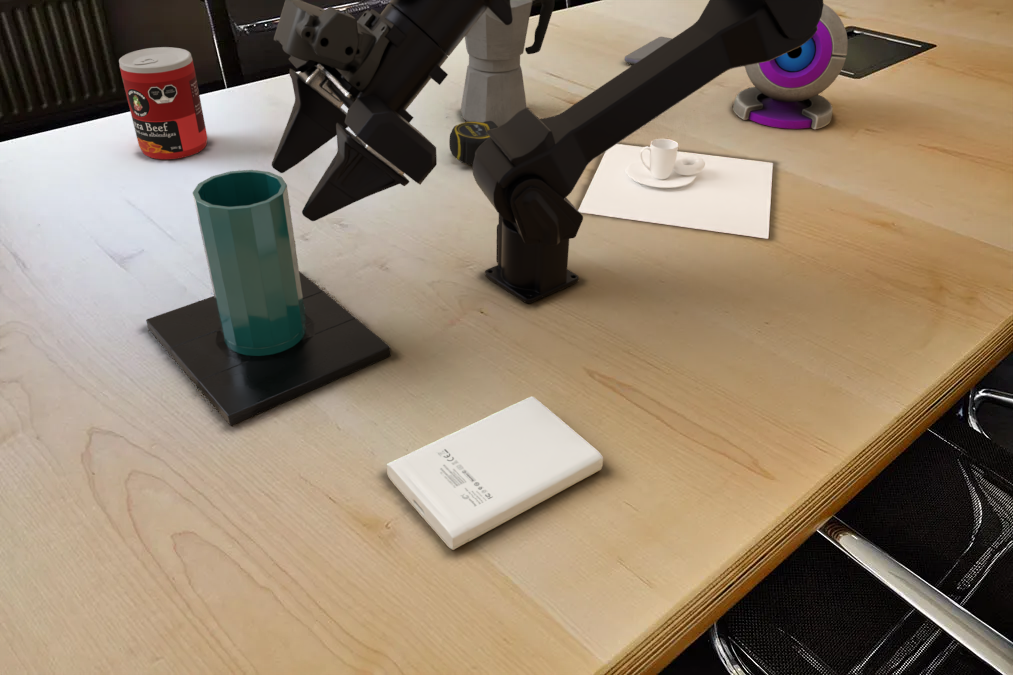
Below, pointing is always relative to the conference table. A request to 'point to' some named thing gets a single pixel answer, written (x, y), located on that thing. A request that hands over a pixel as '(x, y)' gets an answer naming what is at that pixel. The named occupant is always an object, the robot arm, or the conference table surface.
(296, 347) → the drain plate
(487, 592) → the conference table surface
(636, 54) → the smartphone
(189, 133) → the canned food
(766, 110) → the webcam
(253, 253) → the tumbler
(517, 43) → the coffeepot
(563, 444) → the hard drive
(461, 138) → the tape measure
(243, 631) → the conference table surface
